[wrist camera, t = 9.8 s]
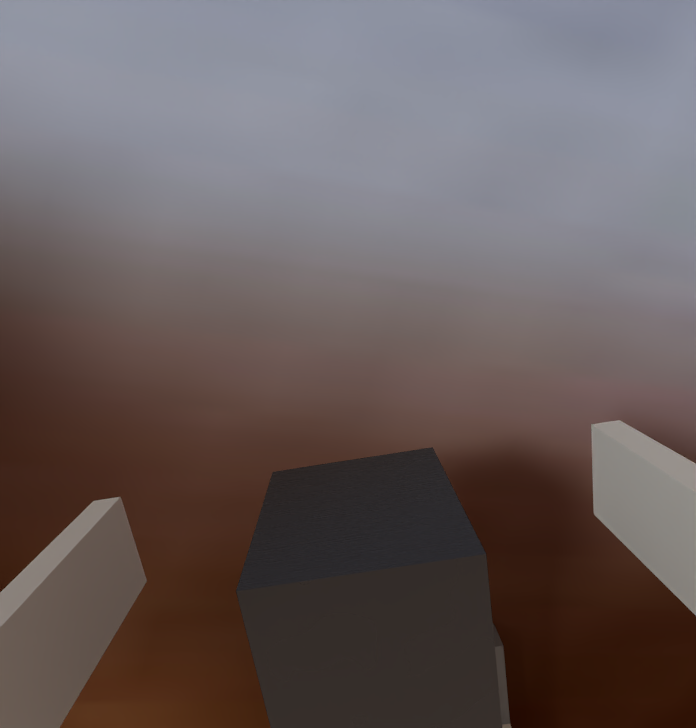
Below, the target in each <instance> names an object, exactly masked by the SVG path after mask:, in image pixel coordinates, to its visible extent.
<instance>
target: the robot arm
mask: <svg viewBox="0 0 696 728" xmlns="http://www.w3.org/2000/svg"><path fill="white" fill-rule="evenodd" d="M591 433H592V472H593V510H594V515H595V516H596V517H597V518H598V519H599V520H600V521H601V522H602V523H603V524H604V525H605V526H606V527H607V528H608V529H609V530H610V531H611V532H612V533H613V534H614V535H615V536H616V537H617V538H618V539H619V540H620V541H621V542H622V543H623V544H624V545H625V546H626V547H627V548H628V549H629V550H630V551H631V552H632V553H633V554H634V555H635V556H636V557H637V558H638V559H639V560H640V561H641V562H642V563H643V564H644V565H645V566H646V567H647V568H648V569H649V570H650V571H651V572H652V573H653V574H654V575H655V576H656V577H657V578H658V579H659V580H660V581H661V582H662V583H663V584H665V585H666V586H667V587H668V588H669V589H670V590H671V591H672V592H673V593H674V594H675V595H676V596H677V597H678V598H679V599H680V600H681V601H682V602H683V603H684V604H685V605H686V606H687V607H688V608H689V609H690V610H691V611H692V612H693V613H694V614H695V615H696V463H694V462H692V461H690V460H689V459H687V458H685V457H683V456H682V455H680V454H678V453H676V452H675V451H673V450H671V449H669V448H668V447H666V446H664V445H662V444H660V443H659V442H657V441H655V440H653V439H652V438H650V437H648V436H646V435H645V434H643V433H641V432H639V431H638V430H636V429H634V428H632V427H631V426H629V425H627V424H625V423H624V422H622V421H620V420H617V421H611V422H604V423H598V424H591ZM146 582H147V580H146V577H145V573H144V570H143V567H142V564H141V560H140V557H139V554H138V551H137V548H136V544H135V541H134V538H133V535H132V532H131V528H130V525H129V522H128V519H127V515H126V512H125V509H124V506H123V503H122V499H121V497H116V498H109V499H103V500H96V501H93V502H92V503H91V504H90V505H89V506H88V507H87V508H86V509H85V510H84V511H83V512H82V513H81V514H80V515H79V516H78V517H77V518H76V519H75V520H74V521H73V522H72V523H71V524H69V525H68V526H67V527H66V528H65V529H64V530H63V531H62V532H61V533H60V534H59V535H58V536H57V537H56V538H55V539H54V540H53V541H52V542H51V543H50V544H49V545H48V546H47V547H46V548H45V549H44V550H43V551H42V552H41V553H40V554H39V555H38V556H37V557H36V558H35V559H34V560H33V561H32V562H31V563H30V564H29V565H28V566H27V567H26V568H25V569H24V570H23V571H22V572H21V573H20V574H19V575H18V576H17V577H16V578H15V579H13V580H12V581H11V582H10V583H9V584H8V585H7V586H6V587H5V588H4V589H3V590H2V591H1V592H0V728H60V726H61V724H62V723H63V721H64V719H65V718H66V716H67V714H68V713H69V711H70V709H71V708H72V706H73V704H74V702H75V701H76V699H77V697H78V696H79V694H80V692H81V691H82V689H83V687H84V686H85V684H86V682H87V681H88V679H89V677H90V676H91V674H92V672H93V671H94V669H95V667H96V666H97V664H98V662H99V661H100V659H101V657H102V656H103V654H104V652H105V651H106V649H107V647H108V646H109V644H110V642H111V640H112V639H113V637H114V635H115V634H116V632H117V630H118V629H119V627H120V625H121V624H122V622H123V620H124V619H125V617H126V615H127V614H128V612H129V610H130V609H131V607H132V605H133V604H134V602H135V600H136V599H137V597H138V595H139V594H140V592H141V590H142V589H143V587H144V585H145V584H146Z"/></svg>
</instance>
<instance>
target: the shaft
mask: <svg viewBox="0 0 696 728" xmlns="http://www.w3.org/2000/svg"><path fill="white" fill-rule="evenodd" d="M236 593H237V597H238V601H239V605H240V609H241V613H242V617H243V621H244V625H245V629H246V632H247V636H248V640H249V644H250V648H251V652H252V656H253V660H254V664H255V668H256V672H257V675H258V679H259V683H260V687H261V691H262V695H263V699H264V703H265V707H266V711H267V715H268V719H269V722H270V726H271V728H502V718H501V708H500V697H499V686H498V676H497V665H496V654H495V644H494V633H493V622H492V611H491V601H490V590H489V579H488V569H487V558H486V553H485V551H484V549H483V547H482V545H481V543H480V541H479V539H478V537H477V535H476V533H475V531H474V529H473V527H472V525H471V523H470V521H469V519H468V517H467V515H466V513H465V511H464V509H463V507H462V505H461V503H460V501H459V499H458V497H457V495H456V493H455V491H454V489H453V487H452V485H451V483H450V481H449V479H448V477H447V475H446V473H445V471H444V469H443V467H442V465H441V463H440V461H439V459H438V457H437V455H436V453H435V451H434V449H433V447H432V448H426V449H419V450H413V451H406V452H400V453H393V454H387V455H380V456H374V457H367V458H361V459H354V460H348V461H341V462H335V463H328V464H322V465H315V466H309V467H302V468H296V469H289V470H283V471H276V472H273V473H272V477H271V480H270V483H269V486H268V490H267V493H266V496H265V499H264V503H263V506H262V509H261V512H260V515H259V519H258V522H257V525H256V528H255V532H254V535H253V538H252V541H251V545H250V548H249V551H248V554H247V557H246V561H245V564H244V567H243V570H242V574H241V577H240V580H239V583H238V587H237V590H236Z"/></svg>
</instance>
